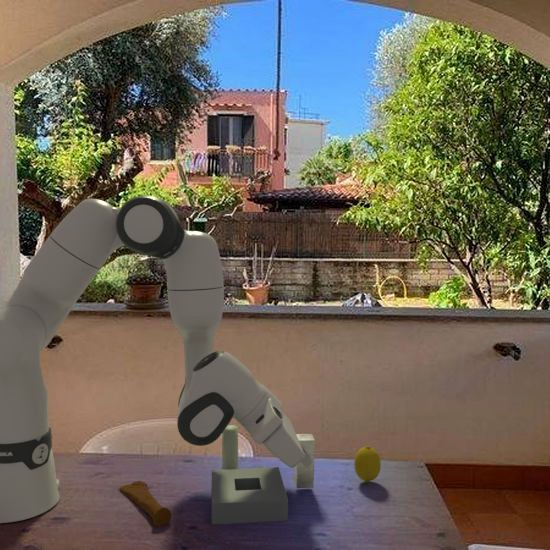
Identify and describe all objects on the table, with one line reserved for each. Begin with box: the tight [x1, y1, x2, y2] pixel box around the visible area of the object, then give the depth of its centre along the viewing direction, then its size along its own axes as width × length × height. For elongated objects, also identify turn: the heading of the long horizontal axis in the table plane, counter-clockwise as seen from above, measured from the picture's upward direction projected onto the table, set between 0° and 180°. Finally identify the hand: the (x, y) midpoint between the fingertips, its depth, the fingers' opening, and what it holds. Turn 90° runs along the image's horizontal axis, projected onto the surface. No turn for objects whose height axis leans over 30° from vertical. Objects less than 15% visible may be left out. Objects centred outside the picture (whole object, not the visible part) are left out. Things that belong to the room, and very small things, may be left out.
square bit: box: [293, 433, 316, 489], centre depth 111 cm, size 4×4×10 cm
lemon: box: [353, 445, 382, 483], centre depth 115 cm, size 6×6×8 cm
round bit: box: [221, 424, 239, 470], centre depth 120 cm, size 4×4×10 cm
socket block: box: [211, 466, 289, 526], centre depth 106 cm, size 14×14×4 cm
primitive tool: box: [118, 480, 173, 528], centre depth 106 cm, size 19×6×4 cm, turn 36°
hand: (307, 458), depth 111 cm, fingers closed on square bit, 3 cm apart
